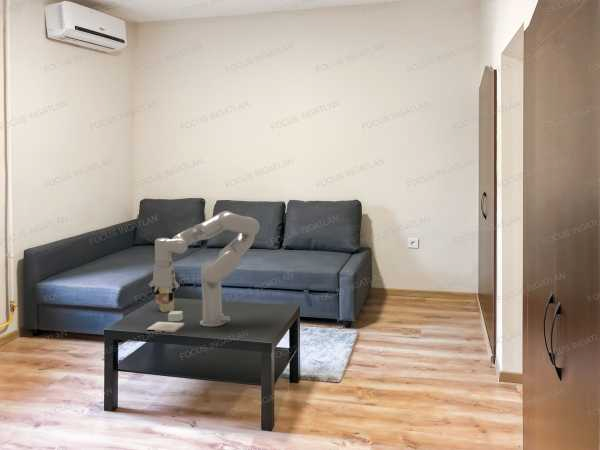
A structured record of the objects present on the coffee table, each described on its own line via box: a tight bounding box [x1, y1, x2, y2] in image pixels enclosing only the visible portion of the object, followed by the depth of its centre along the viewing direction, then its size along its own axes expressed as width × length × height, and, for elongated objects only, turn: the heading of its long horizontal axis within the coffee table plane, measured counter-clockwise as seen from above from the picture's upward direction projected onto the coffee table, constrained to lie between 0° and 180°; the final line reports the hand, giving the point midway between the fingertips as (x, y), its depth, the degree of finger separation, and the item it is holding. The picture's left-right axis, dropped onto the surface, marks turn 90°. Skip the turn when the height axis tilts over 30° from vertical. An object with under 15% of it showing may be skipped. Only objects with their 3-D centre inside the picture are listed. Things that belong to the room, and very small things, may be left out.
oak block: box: [155, 292, 173, 305], centre depth 273 cm, size 6×6×4 cm
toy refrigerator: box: [158, 287, 175, 313], centre depth 307 cm, size 8×7×21 cm
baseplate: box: [146, 321, 185, 333], centre depth 275 cm, size 14×12×1 cm
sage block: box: [167, 310, 184, 322], centre depth 289 cm, size 6×6×4 cm
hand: (164, 299), depth 273 cm, fingers closed on oak block, 6 cm apart
